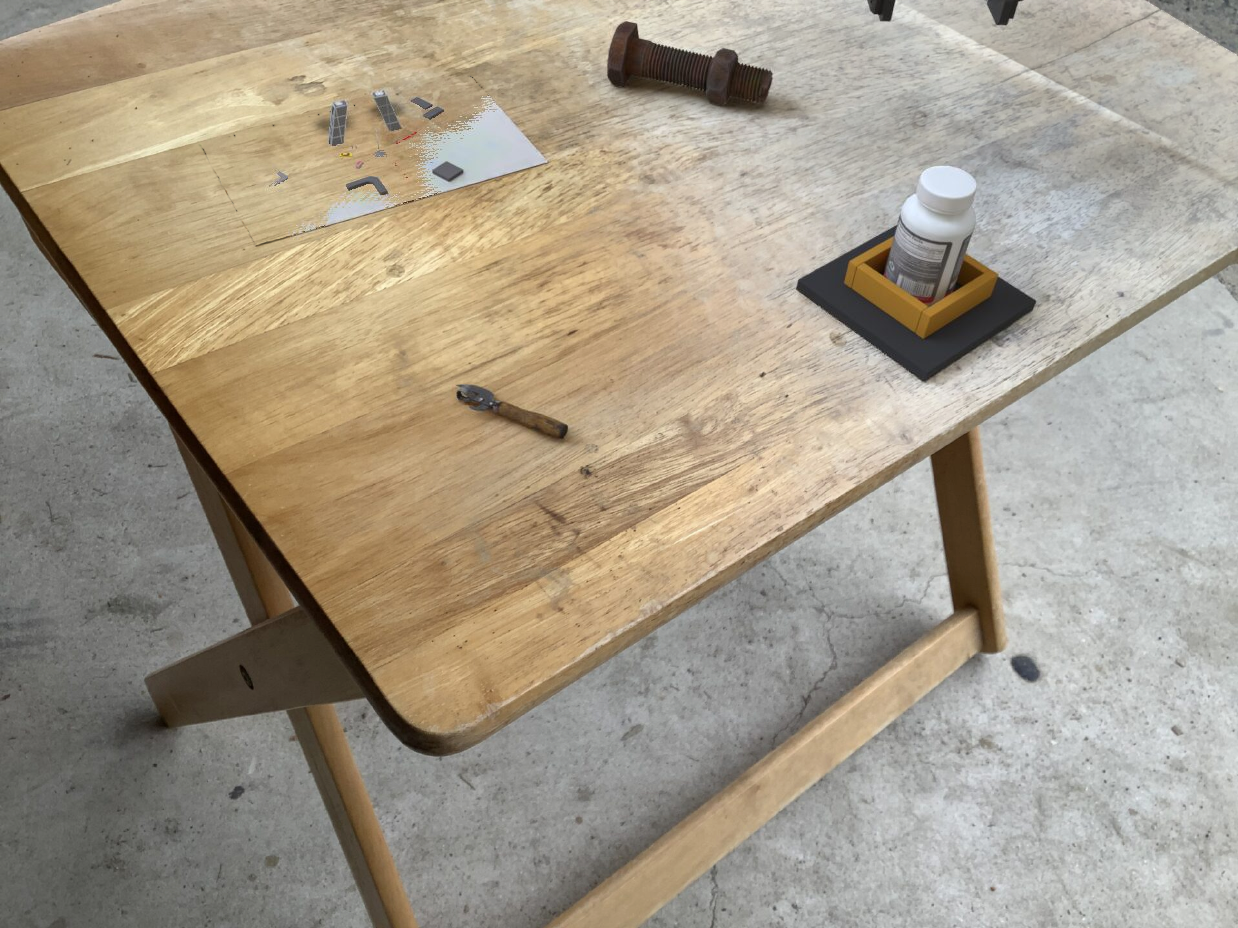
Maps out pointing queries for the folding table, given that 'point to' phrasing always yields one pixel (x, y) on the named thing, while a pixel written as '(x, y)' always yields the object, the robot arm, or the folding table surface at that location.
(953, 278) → the pill bottle
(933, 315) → the dock
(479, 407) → the can opener
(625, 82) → the bolt
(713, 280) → the folding table surface
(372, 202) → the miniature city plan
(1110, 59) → the folding table surface
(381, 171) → the folding table surface
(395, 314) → the folding table surface
